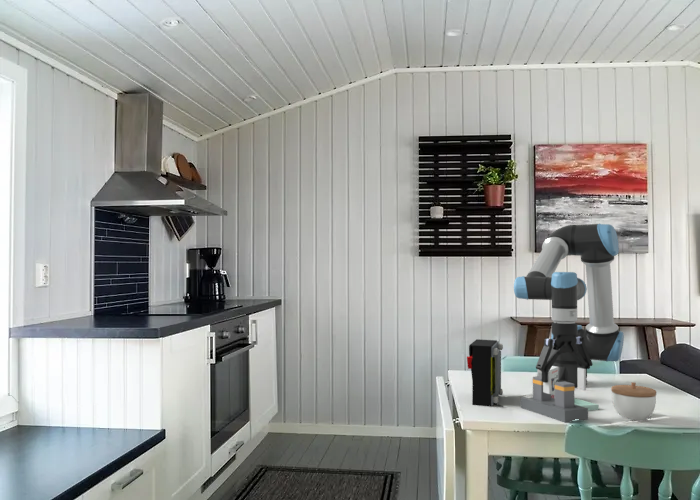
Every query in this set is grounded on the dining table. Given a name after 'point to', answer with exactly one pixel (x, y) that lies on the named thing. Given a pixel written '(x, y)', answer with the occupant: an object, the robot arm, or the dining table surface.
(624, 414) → the lidded bowl
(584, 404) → the tray
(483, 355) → the electrical component
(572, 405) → the plug
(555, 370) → the ink box
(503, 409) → the dining table surface
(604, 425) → the dining table surface
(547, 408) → the pdu strip
